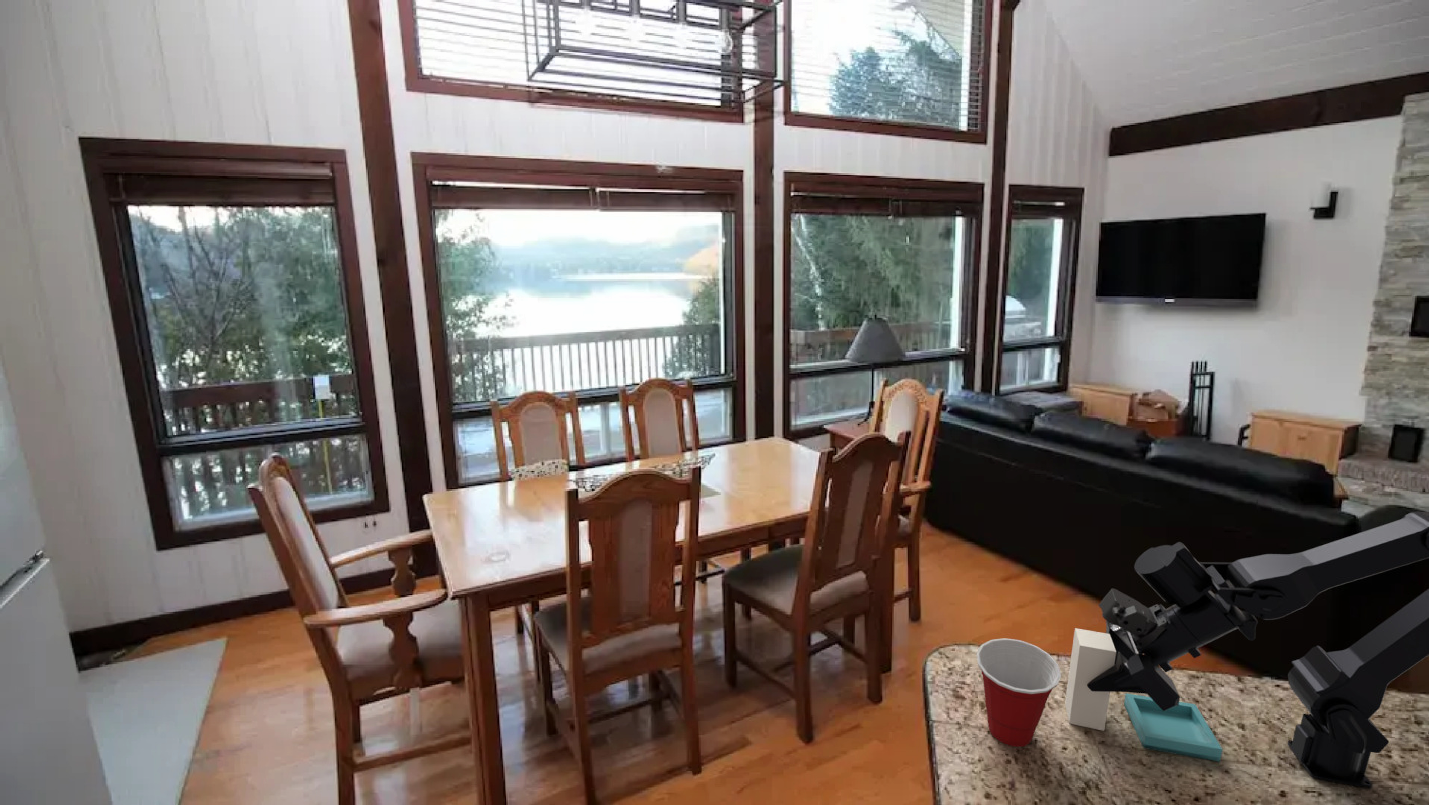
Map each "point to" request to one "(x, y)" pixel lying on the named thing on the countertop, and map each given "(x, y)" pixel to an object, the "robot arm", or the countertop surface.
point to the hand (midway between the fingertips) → (1086, 677)
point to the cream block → (1088, 678)
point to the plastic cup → (1015, 687)
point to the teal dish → (1172, 728)
